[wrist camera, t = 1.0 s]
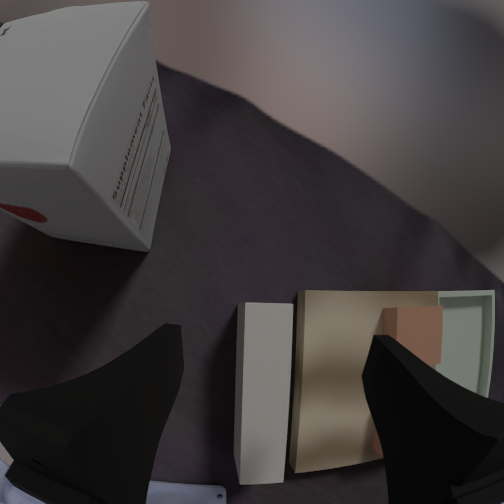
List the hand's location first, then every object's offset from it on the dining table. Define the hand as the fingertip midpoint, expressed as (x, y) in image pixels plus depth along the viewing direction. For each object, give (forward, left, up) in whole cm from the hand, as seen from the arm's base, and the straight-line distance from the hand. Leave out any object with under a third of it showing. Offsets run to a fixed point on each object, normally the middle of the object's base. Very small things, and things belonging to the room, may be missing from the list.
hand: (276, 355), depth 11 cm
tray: (-4, -20, -11) cm, 24 cm away
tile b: (0, -12, -9) cm, 16 cm away
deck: (-4, -10, -11) cm, 16 cm away
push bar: (-4, -1, -12) cm, 12 cm away
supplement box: (+10, +11, -12) cm, 19 cm away
